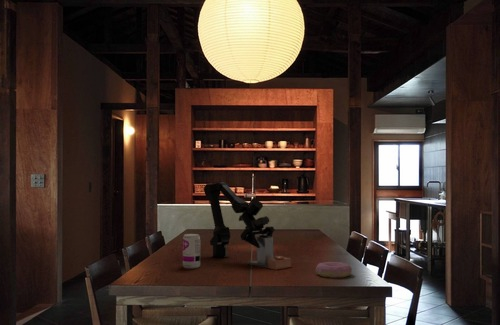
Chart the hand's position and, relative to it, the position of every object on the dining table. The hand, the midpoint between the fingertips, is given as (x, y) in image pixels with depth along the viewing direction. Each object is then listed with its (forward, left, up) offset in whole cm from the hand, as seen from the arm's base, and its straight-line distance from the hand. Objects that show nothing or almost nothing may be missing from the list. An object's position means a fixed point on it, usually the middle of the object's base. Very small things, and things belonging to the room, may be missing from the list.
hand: (266, 246), depth 241 cm
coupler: (+1, -1, -9) cm, 9 cm away
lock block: (-1, +1, -8) cm, 8 cm away
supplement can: (-33, -14, -9) cm, 36 cm away
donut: (+33, -16, -9) cm, 38 cm away
